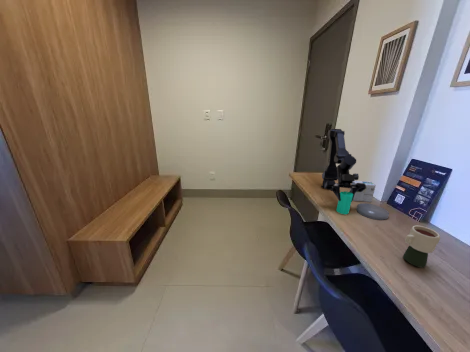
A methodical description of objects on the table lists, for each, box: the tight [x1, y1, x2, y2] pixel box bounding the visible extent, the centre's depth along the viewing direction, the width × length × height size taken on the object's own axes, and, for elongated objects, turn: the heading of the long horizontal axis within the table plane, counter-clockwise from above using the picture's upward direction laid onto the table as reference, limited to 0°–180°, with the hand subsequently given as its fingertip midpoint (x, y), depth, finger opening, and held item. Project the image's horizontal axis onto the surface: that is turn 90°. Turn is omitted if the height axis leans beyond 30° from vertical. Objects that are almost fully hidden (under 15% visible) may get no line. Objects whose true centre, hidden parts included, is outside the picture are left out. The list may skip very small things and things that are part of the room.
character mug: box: [402, 225, 441, 268], centre depth 70 cm, size 11×7×13 cm, turn 88°
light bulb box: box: [349, 180, 376, 203], centre depth 119 cm, size 11×7×11 cm, turn 84°
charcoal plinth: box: [356, 202, 390, 221], centre depth 105 cm, size 14×14×2 cm
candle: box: [335, 190, 353, 215], centre depth 104 cm, size 6×6×12 cm
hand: (345, 201), depth 102 cm, fingers closed on candle, 5 cm apart
